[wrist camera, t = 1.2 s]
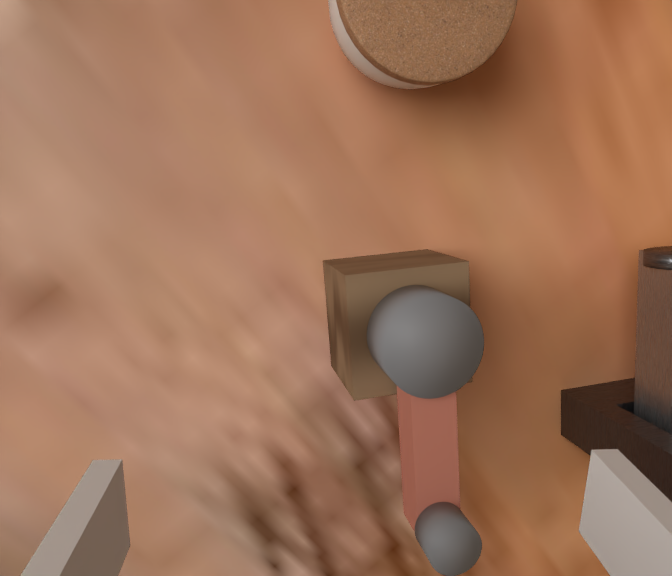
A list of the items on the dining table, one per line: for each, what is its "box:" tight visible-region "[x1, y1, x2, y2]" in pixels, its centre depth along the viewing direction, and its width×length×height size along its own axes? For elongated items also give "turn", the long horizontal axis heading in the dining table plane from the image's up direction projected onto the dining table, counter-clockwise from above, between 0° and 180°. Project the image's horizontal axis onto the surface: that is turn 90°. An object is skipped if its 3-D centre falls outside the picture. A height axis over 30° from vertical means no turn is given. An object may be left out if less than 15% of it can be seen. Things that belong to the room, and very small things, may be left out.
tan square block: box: [323, 249, 472, 401], centre depth 38 cm, size 8×8×7 cm
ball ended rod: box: [367, 285, 484, 576], centre depth 33 cm, size 16×6×5 cm, turn 5°
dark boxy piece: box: [561, 378, 672, 502], centre depth 42 cm, size 4×10×12 cm, turn 95°
